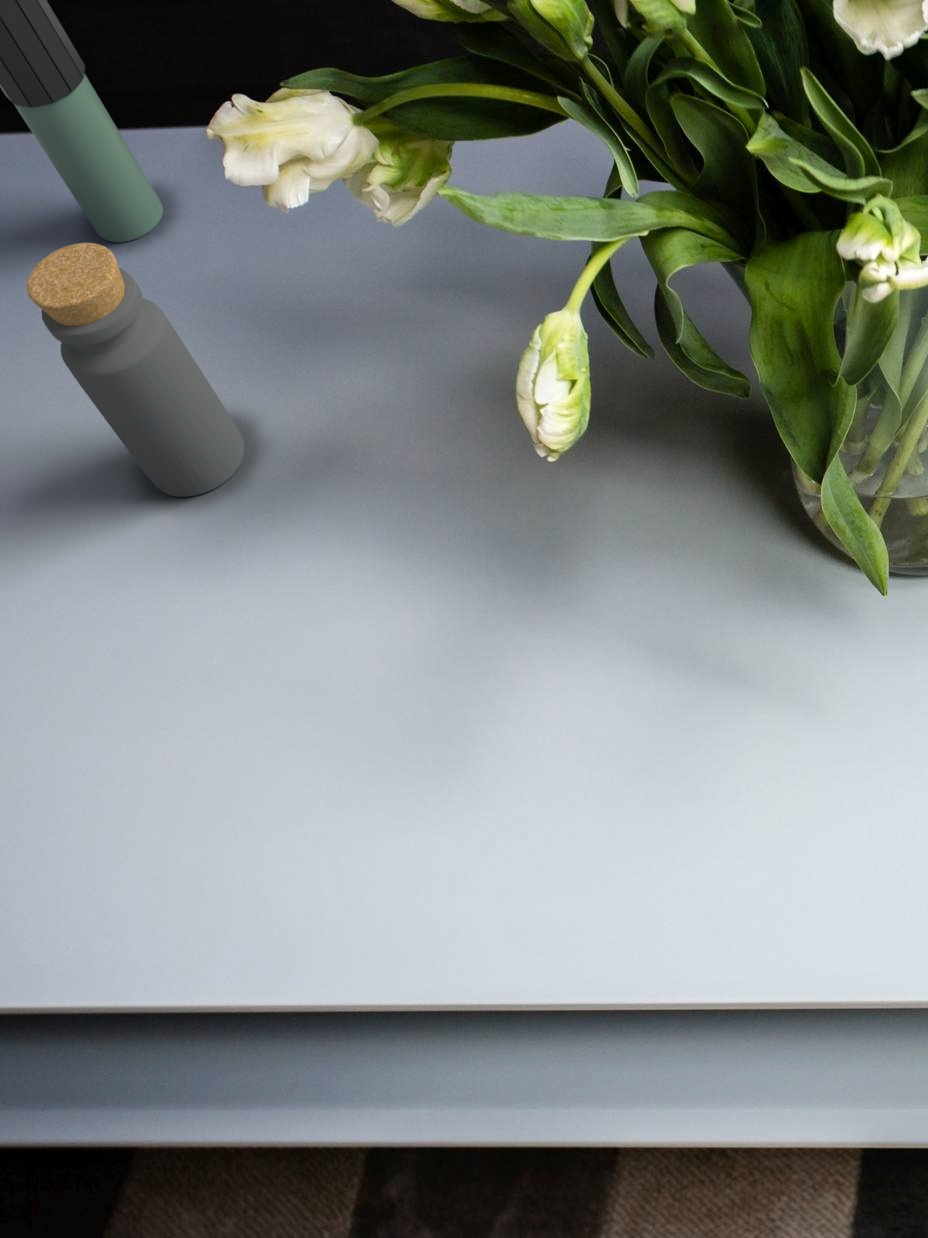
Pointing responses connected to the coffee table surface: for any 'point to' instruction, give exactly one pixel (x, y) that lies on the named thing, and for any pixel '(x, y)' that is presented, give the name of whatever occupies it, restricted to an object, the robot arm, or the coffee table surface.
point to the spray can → (96, 164)
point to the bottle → (136, 370)
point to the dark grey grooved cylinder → (36, 55)
